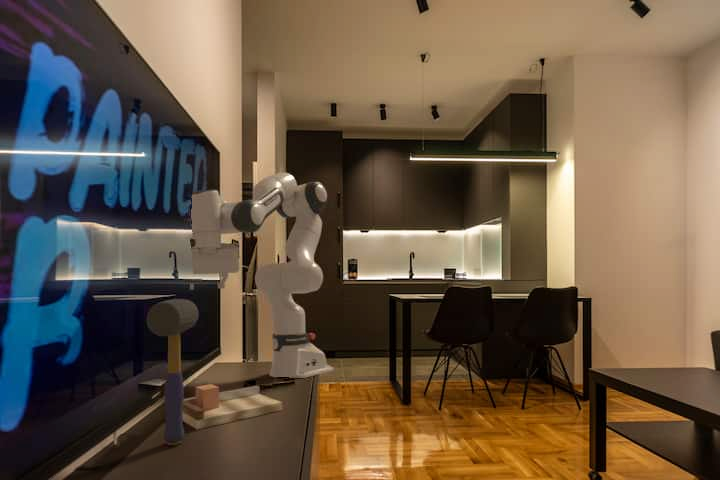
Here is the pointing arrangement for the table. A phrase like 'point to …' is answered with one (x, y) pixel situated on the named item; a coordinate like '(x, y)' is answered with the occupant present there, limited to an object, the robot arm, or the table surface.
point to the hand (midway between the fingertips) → (206, 289)
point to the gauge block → (207, 397)
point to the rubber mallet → (173, 357)
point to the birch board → (229, 411)
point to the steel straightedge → (231, 394)
